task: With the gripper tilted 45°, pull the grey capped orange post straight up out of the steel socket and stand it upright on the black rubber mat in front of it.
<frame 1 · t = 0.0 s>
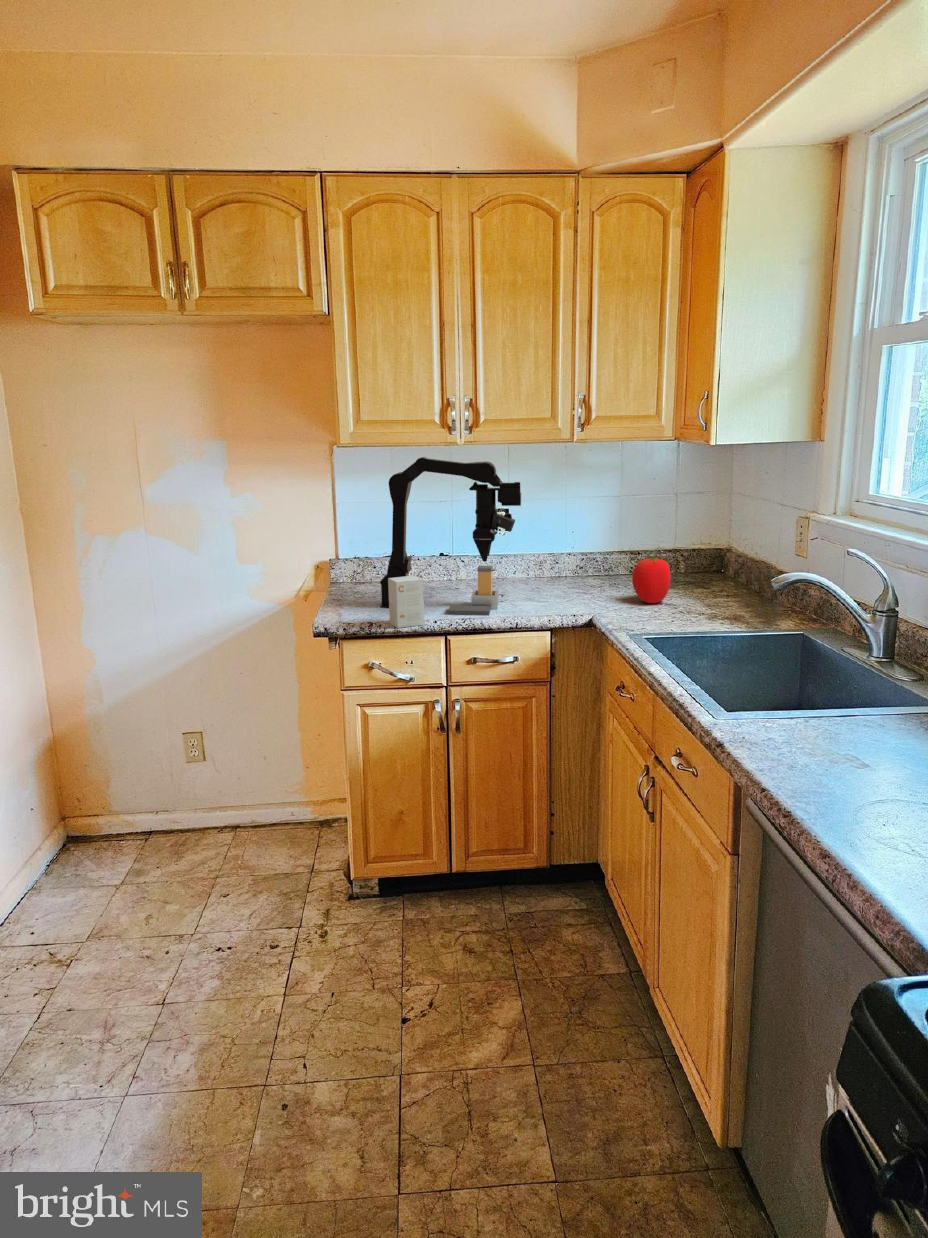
hand: (485, 558, 247), 15 cm above the counter, tool pointing down, fingers open, 9 cm apart
tomato: (650, 602, 256), on the counter
rubber mat: (469, 612, 245), on the counter
small box: (406, 625, 232), on the counter
grey capped orange post: (485, 586, 251), in the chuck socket
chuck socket: (485, 606, 252), on the counter
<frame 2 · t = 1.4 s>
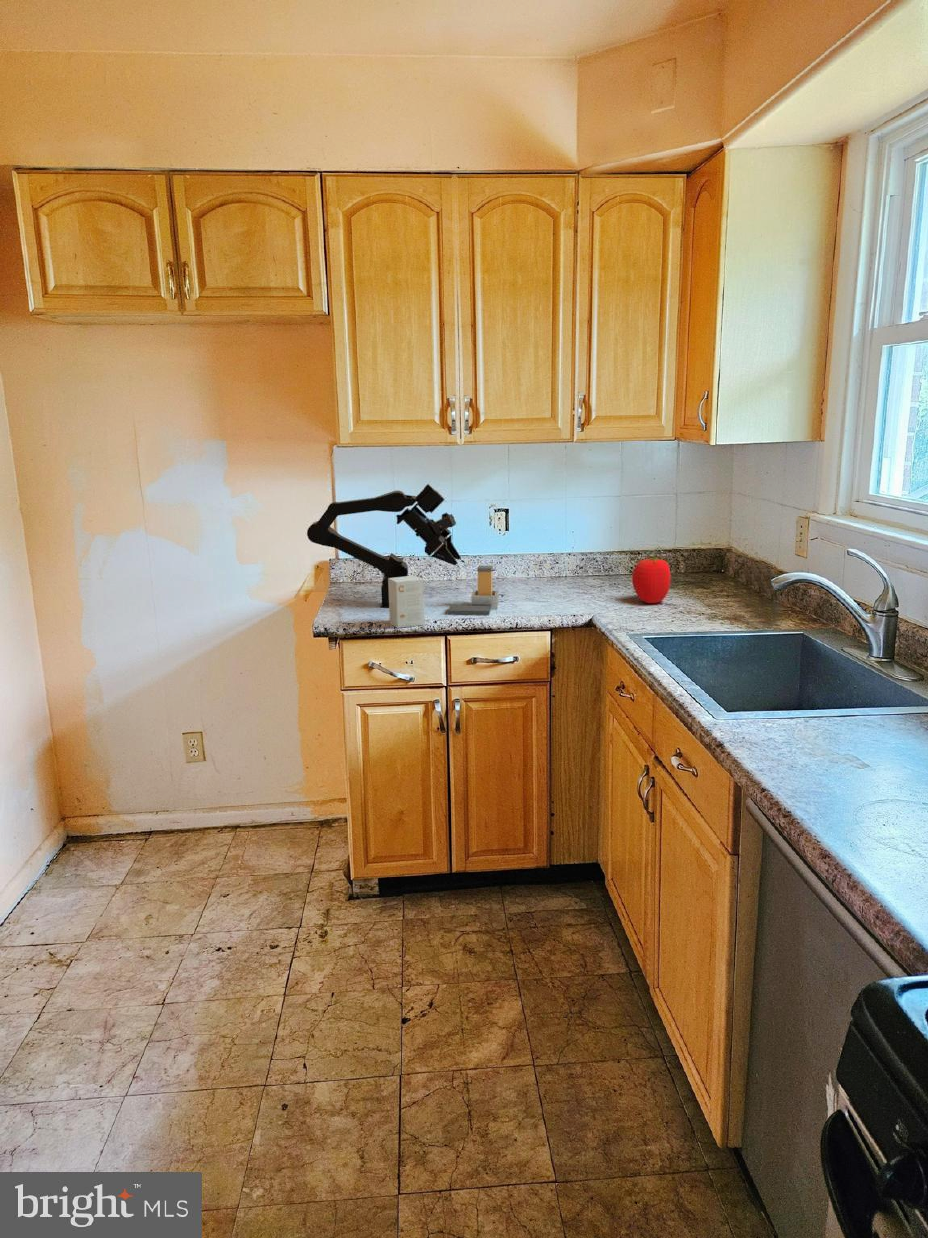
hand: (458, 561, 249), 14 cm above the counter, tool tilted 45°, fingers open, 9 cm apart
nothing on the counter moved.
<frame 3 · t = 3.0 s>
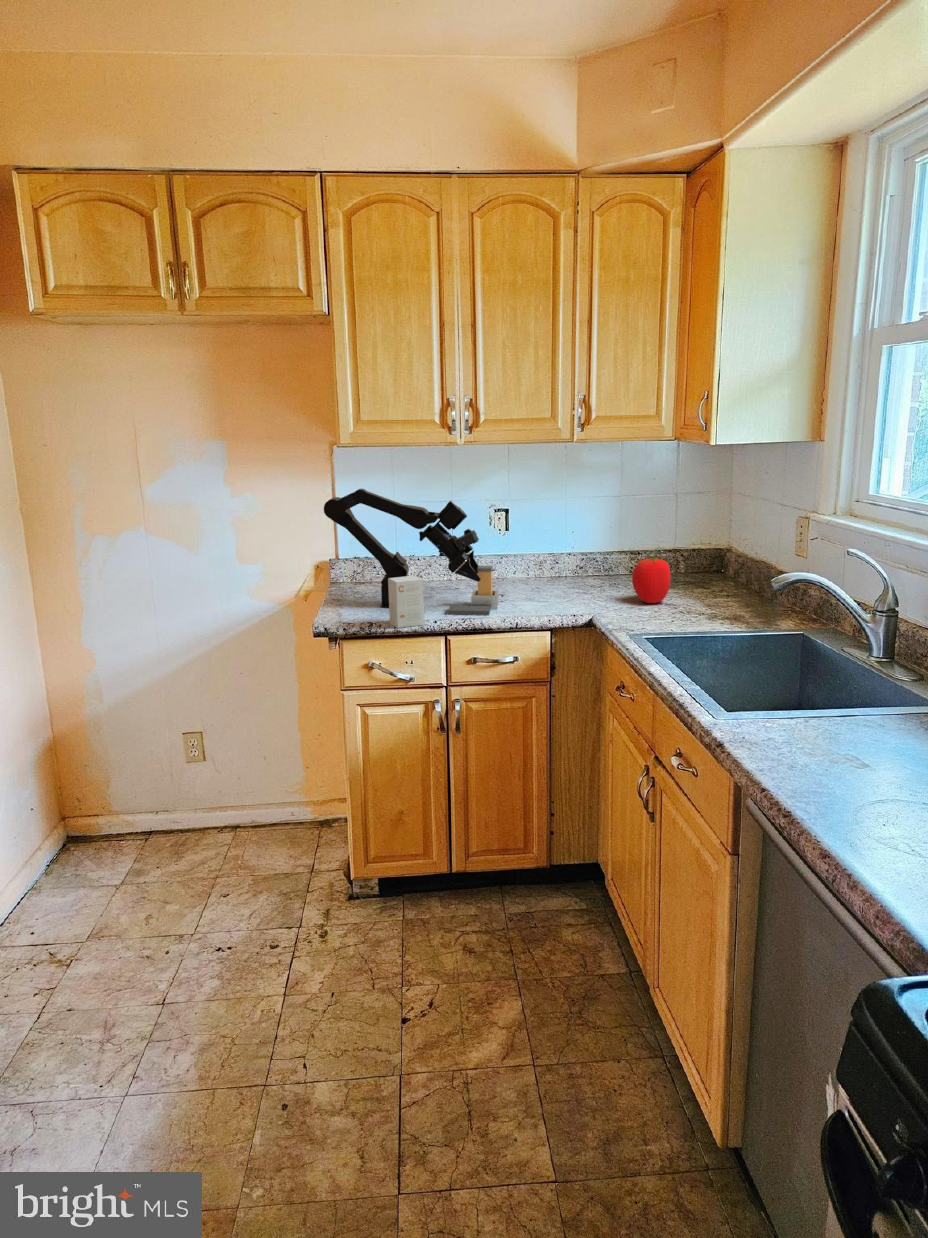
hand: (480, 577, 250), 9 cm above the counter, tool tilted 45°, fingers open, 9 cm apart
nothing on the counter moved.
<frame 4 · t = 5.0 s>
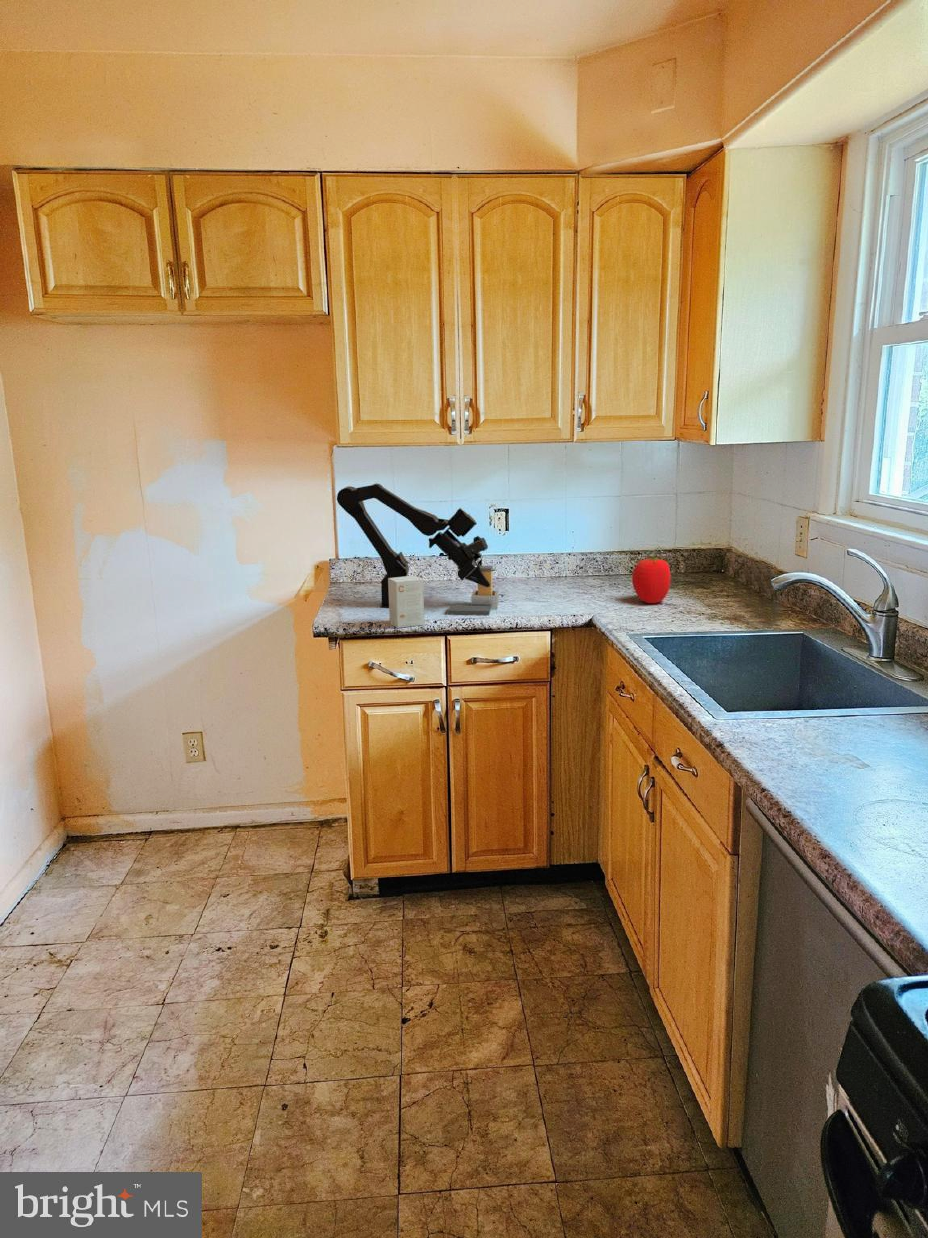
hand: (489, 584, 250), 7 cm above the counter, tool tilted 45°, fingers closed on grey capped orange post, 4 cm apart
grey capped orange post: (485, 586, 251), in the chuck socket, touching gripper
everything else where it was.
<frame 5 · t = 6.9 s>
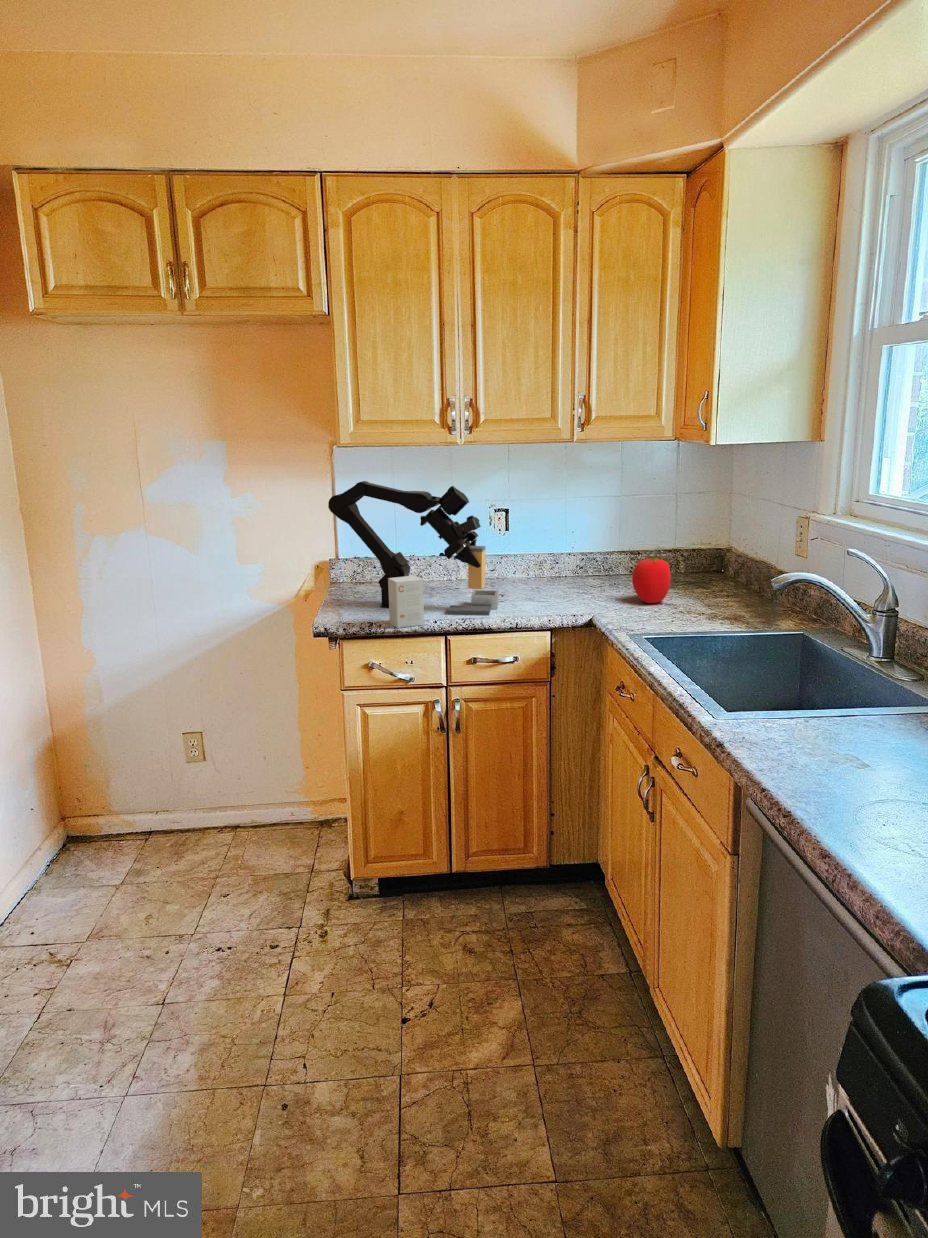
hand: (481, 565, 244), 13 cm above the counter, tool tilted 45°, fingers closed on grey capped orange post, 4 cm apart
grey capped orange post: (476, 567, 244), point 13 cm above the counter, touching gripper
everything else where it was.
when the fingers open (9 cm above the counter, at t = 9.0 s): grey capped orange post drops 1 cm, resting on rubber mat.
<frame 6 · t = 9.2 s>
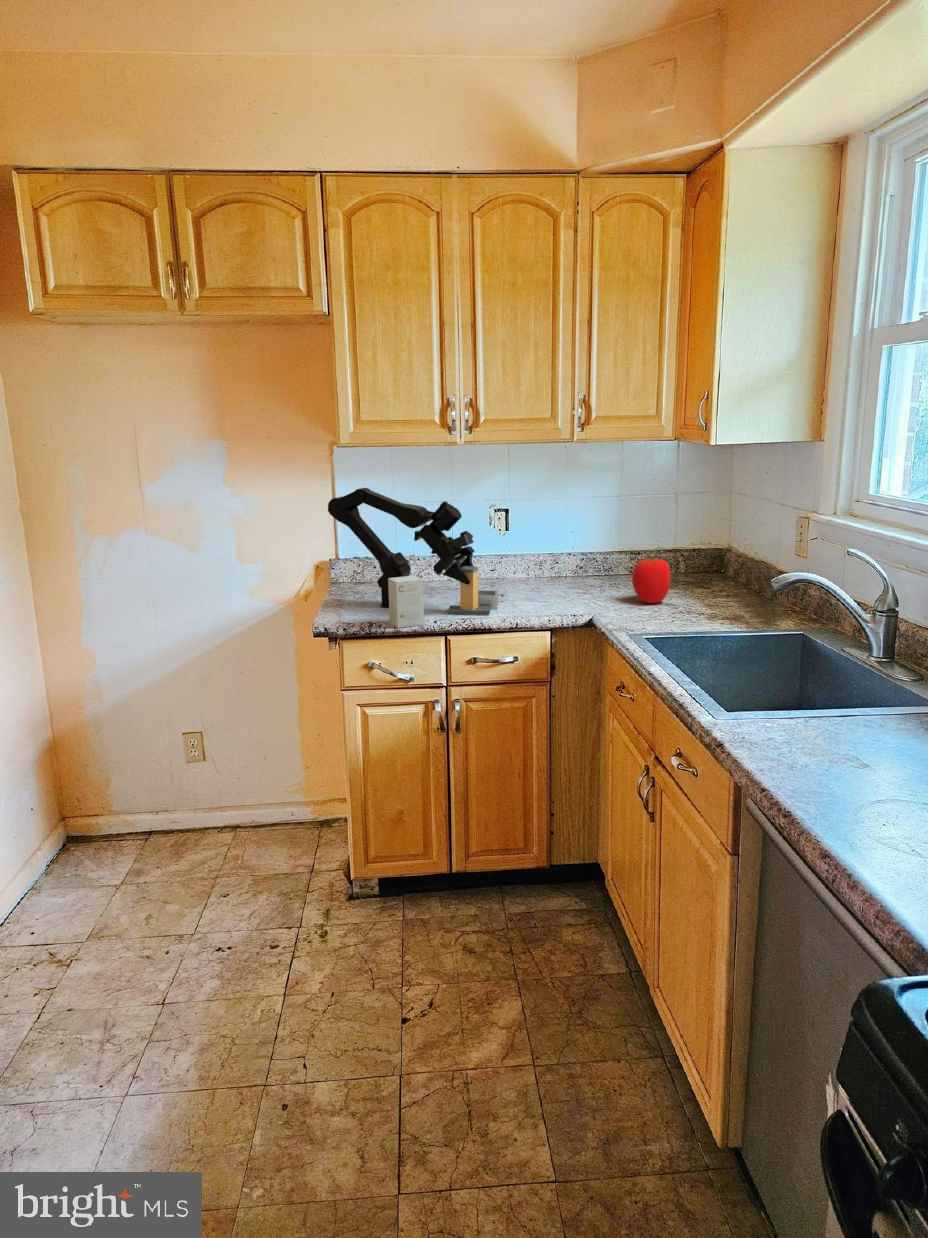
hand: (473, 581, 242), 9 cm above the counter, tool tilted 45°, fingers open, 6 cm apart
grey capped orange post: (469, 588, 243), on the rubber mat, point 7 cm above the counter
everything else where it was.
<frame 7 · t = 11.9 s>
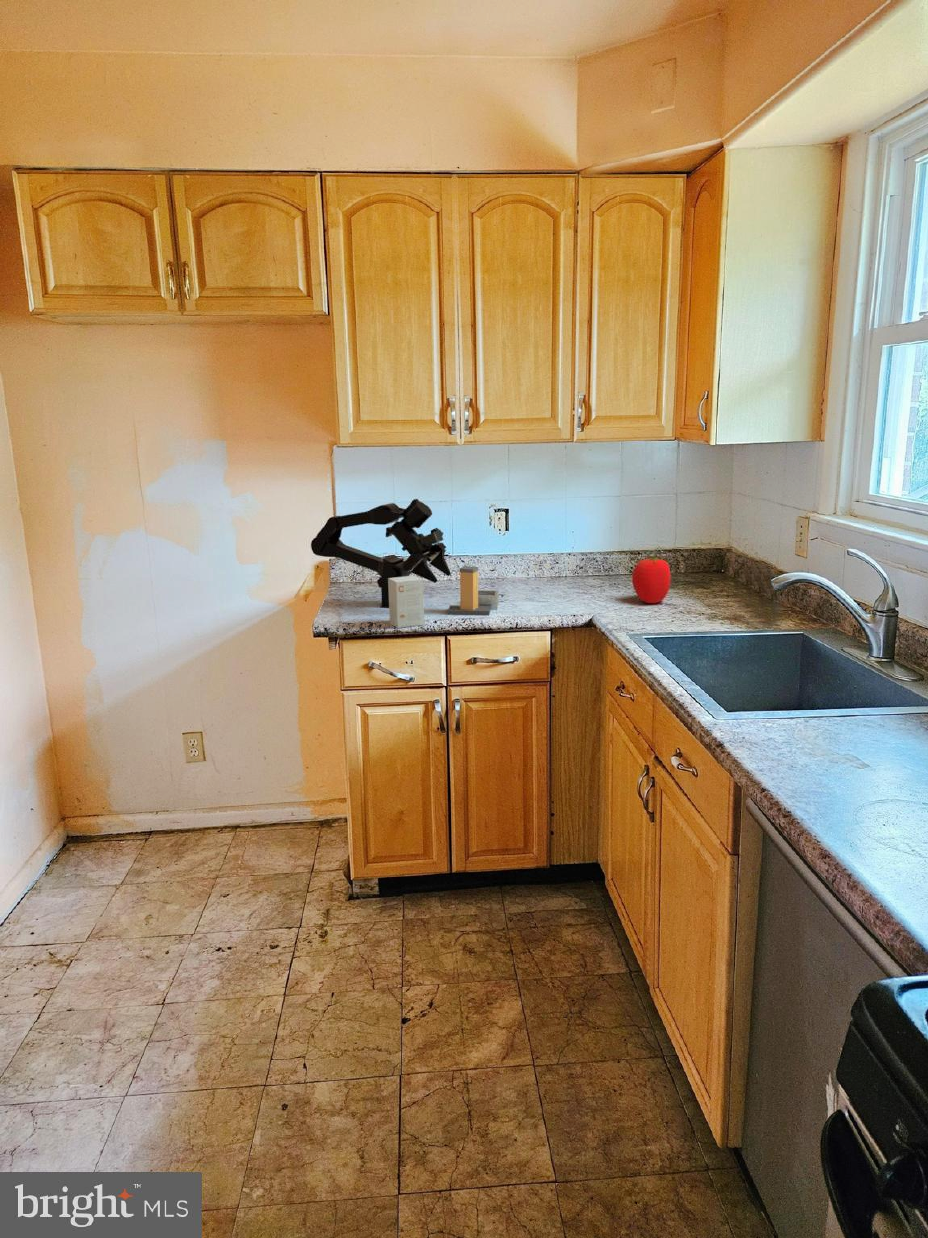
hand: (443, 578, 245), 10 cm above the counter, tool tilted 45°, fingers open, 9 cm apart
nothing on the counter moved.
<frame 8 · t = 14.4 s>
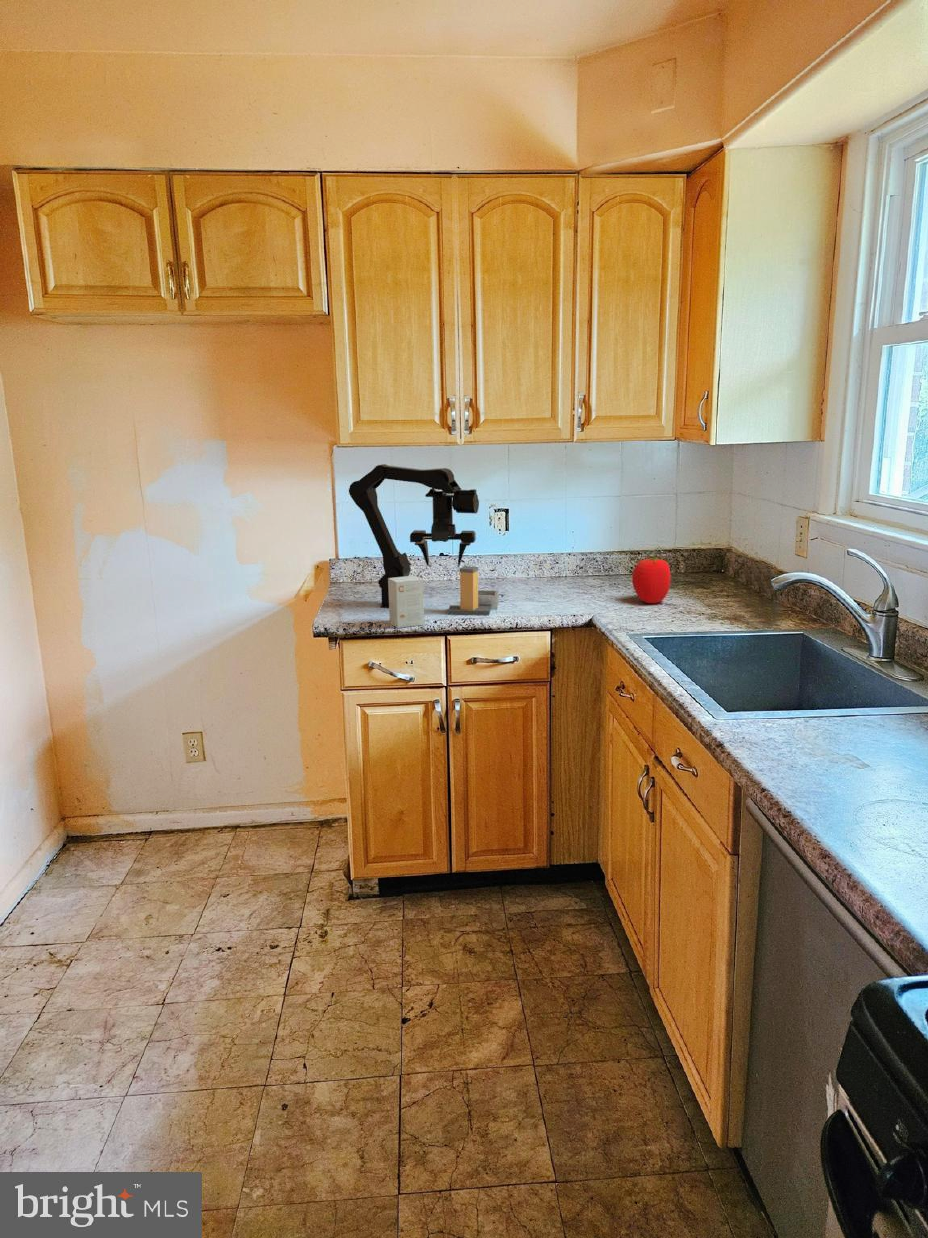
hand: (443, 565, 246), 13 cm above the counter, tool pointing down, fingers open, 9 cm apart
nothing on the counter moved.
at the end: grey capped orange post 0.0 cm off-centre on the rubber mat, point 7.2 cm above the rubber mat's base; grey capped orange post tilted 0°; the gripper is holding nothing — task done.
